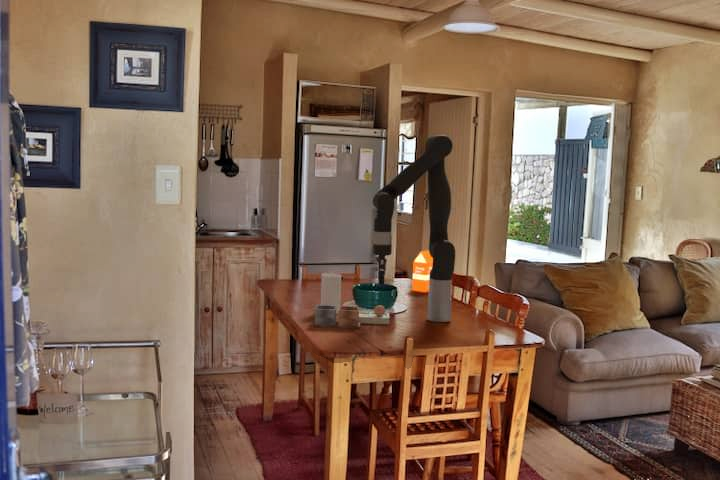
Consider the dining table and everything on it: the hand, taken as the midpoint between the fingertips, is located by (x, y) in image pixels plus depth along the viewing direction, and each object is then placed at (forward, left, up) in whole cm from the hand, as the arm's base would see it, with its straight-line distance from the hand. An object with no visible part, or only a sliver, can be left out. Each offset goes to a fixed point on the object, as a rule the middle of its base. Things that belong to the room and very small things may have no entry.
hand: (381, 282), depth 277 cm
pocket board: (+4, 0, -16) cm, 16 cm away
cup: (+21, -12, -16) cm, 29 cm away
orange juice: (-22, -72, -16) cm, 77 cm away
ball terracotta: (0, 0, -14) cm, 14 cm away
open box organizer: (+17, +9, -16) cm, 25 cm away
